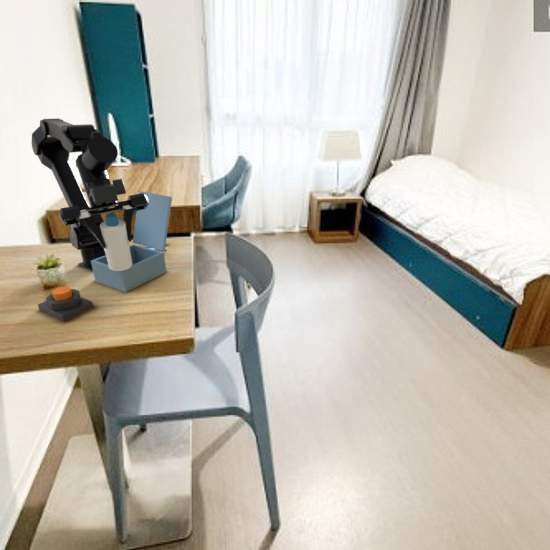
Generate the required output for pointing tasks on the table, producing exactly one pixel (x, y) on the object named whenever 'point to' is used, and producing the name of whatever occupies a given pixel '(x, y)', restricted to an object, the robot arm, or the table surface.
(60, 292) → the button
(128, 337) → the table surface
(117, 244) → the detergent bottle
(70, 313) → the control block
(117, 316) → the table surface
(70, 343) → the table surface
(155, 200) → the blue-grey box lid
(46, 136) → the robot arm
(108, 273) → the blue open box
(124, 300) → the table surface
